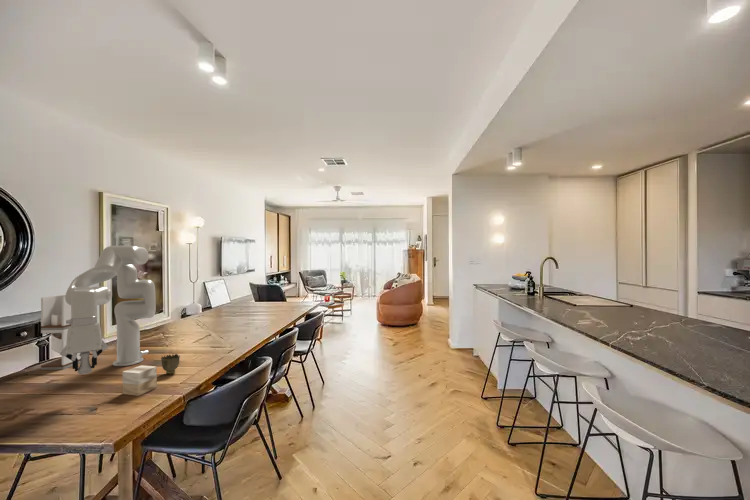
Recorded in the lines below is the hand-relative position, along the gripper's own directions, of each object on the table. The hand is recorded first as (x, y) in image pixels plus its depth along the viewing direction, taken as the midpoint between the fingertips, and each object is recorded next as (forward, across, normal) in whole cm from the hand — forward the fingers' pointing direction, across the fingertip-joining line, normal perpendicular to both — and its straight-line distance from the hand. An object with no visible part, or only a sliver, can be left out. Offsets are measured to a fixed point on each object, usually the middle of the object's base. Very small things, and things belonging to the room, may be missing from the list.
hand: (85, 368), depth 129 cm
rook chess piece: (+2, 0, 0) cm, 2 cm away
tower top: (+8, +17, -4) cm, 19 cm away
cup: (+12, +29, +11) cm, 34 cm away
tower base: (+12, +17, -4) cm, 21 cm away
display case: (+13, -13, +59) cm, 61 cm away
